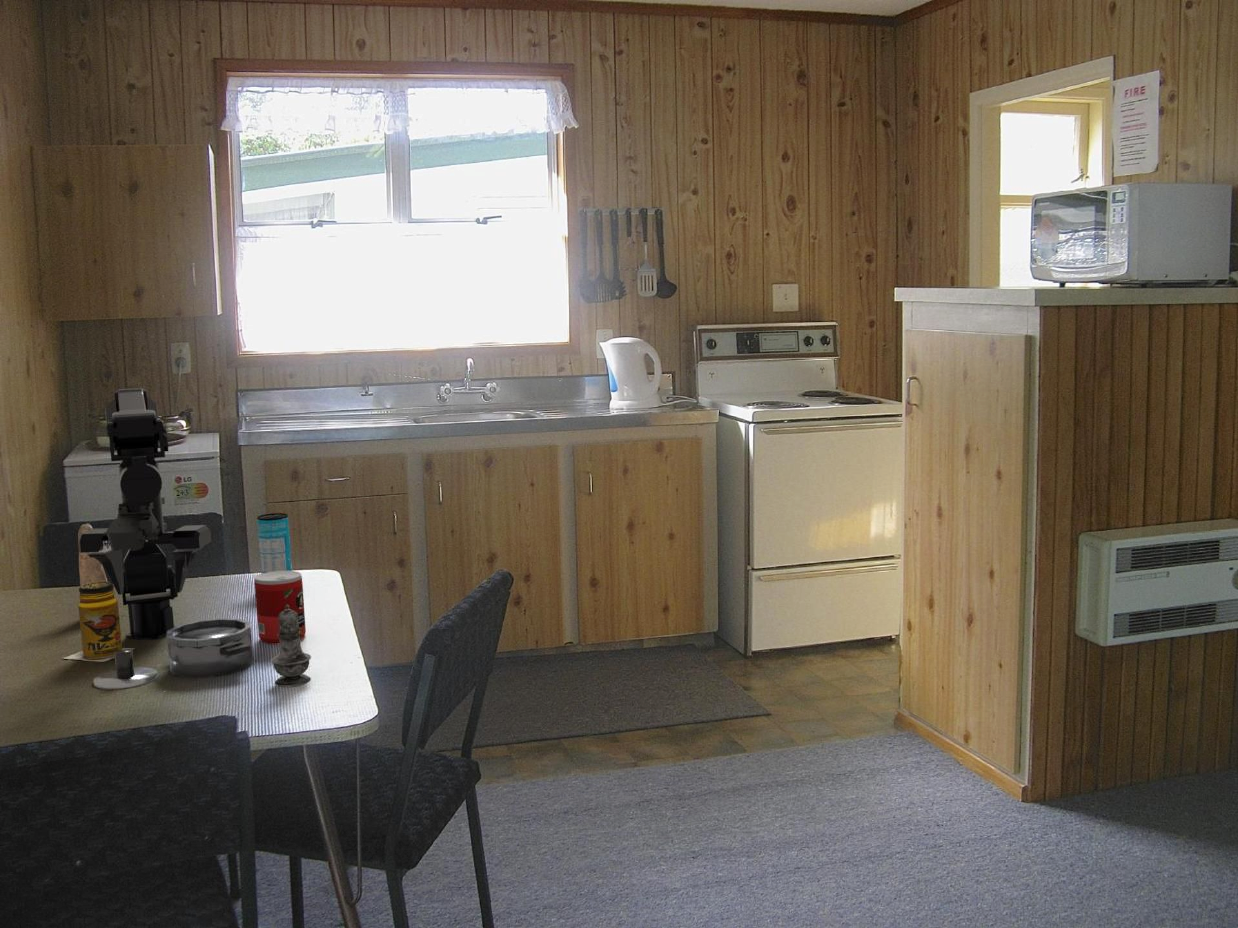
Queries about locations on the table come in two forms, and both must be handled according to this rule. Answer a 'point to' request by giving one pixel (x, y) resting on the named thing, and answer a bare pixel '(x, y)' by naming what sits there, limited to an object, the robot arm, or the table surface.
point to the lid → (125, 673)
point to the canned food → (278, 602)
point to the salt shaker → (290, 652)
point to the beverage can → (274, 542)
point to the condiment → (98, 623)
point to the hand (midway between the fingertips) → (150, 593)
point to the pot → (209, 648)
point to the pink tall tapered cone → (89, 564)
